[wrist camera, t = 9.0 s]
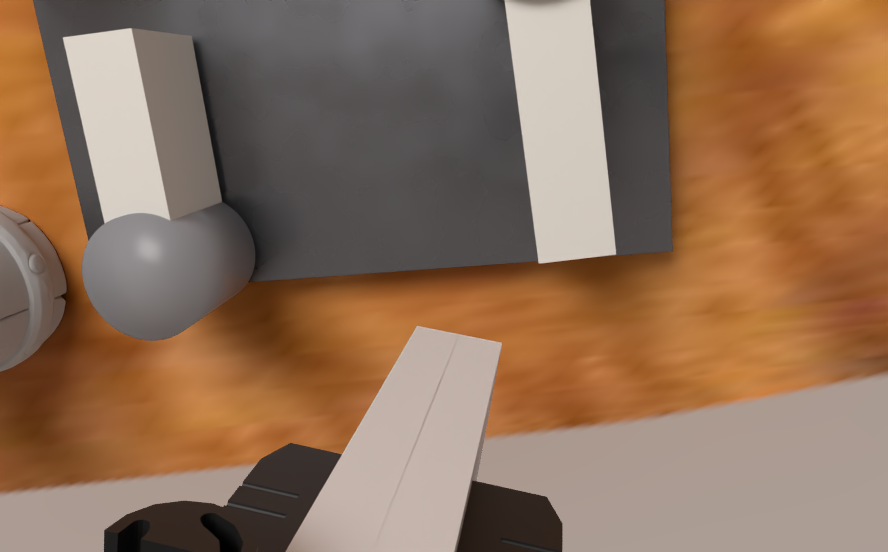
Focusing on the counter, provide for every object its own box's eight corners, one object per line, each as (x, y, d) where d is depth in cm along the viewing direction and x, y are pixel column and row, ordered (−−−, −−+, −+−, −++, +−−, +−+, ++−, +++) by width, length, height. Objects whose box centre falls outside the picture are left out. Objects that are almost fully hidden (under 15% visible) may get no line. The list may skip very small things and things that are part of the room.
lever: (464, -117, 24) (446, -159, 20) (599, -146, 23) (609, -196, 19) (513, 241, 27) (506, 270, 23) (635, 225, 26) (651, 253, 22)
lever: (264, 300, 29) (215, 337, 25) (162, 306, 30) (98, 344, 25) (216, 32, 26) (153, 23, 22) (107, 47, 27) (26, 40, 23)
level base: (649, -229, 24) (703, -398, 16) (666, 242, 28) (717, 313, 19) (31, -119, 28) (-198, -208, 19) (121, 283, 32) (-37, 357, 23)
